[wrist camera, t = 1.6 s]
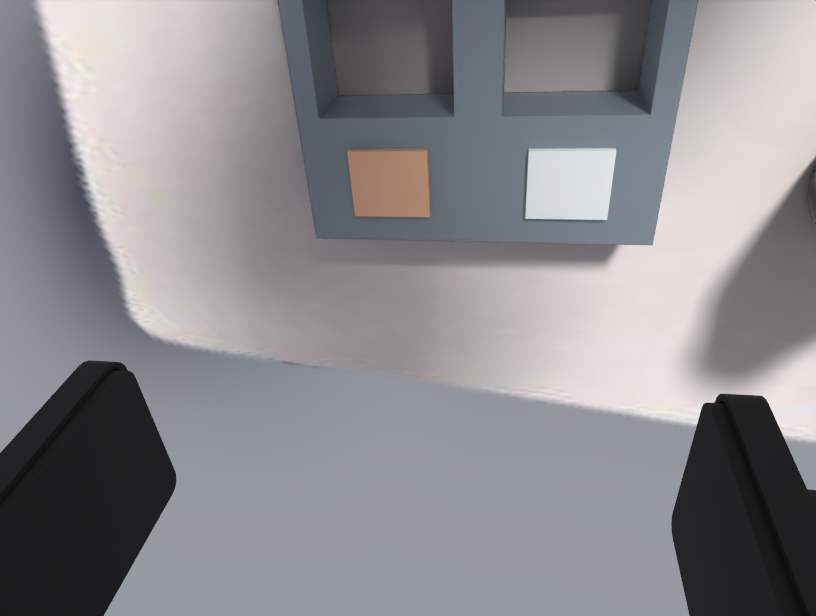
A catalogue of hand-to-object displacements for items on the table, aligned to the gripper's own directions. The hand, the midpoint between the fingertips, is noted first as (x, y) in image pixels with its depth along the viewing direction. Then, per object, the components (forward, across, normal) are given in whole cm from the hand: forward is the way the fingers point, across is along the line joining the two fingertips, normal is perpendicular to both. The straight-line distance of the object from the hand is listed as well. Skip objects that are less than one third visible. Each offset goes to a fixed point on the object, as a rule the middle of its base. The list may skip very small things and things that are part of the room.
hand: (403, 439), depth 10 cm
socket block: (+23, 0, 0) cm, 23 cm away
